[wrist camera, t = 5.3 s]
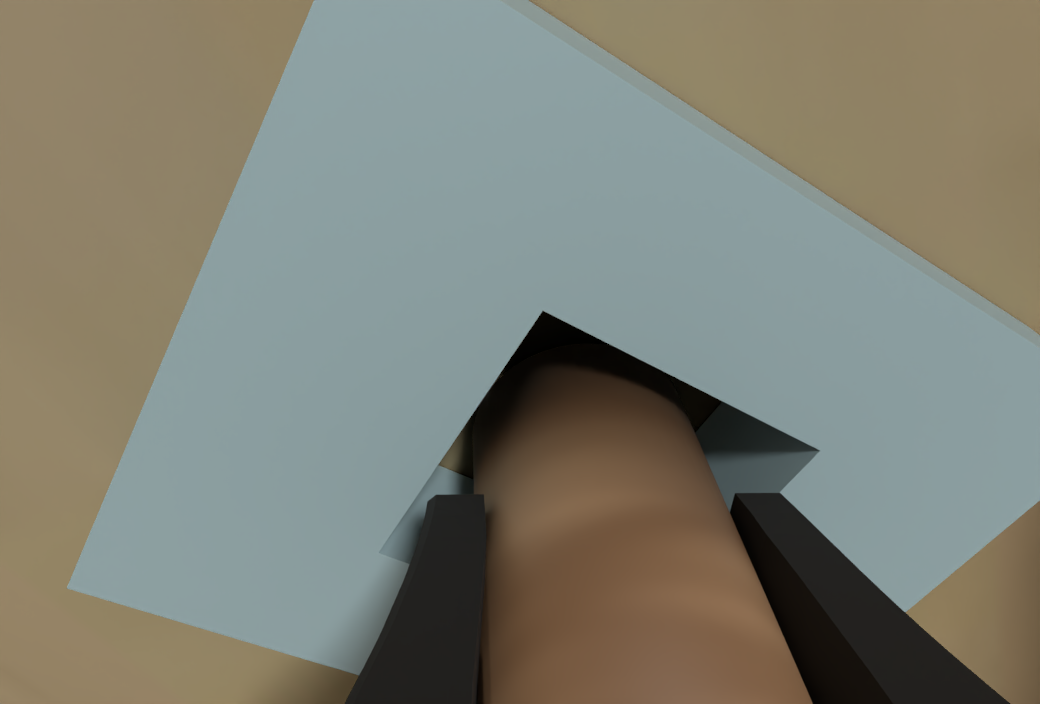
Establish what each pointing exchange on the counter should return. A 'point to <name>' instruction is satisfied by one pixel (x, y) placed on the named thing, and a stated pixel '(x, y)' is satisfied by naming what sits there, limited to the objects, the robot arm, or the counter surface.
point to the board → (510, 315)
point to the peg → (613, 547)
